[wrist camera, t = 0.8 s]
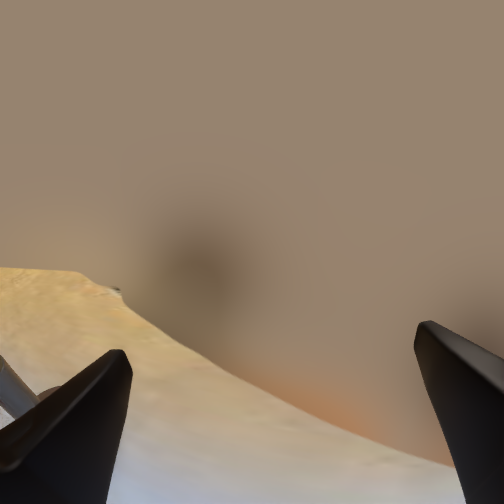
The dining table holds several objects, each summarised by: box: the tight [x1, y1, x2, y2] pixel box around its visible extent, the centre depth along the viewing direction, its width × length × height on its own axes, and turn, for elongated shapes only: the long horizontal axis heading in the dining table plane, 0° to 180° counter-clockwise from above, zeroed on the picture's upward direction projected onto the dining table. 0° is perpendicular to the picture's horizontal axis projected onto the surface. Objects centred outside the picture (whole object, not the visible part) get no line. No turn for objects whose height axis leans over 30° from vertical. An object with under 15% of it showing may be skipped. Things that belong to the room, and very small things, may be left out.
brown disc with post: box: [0, 355, 61, 420], centre depth 18 cm, size 12×12×11 cm
